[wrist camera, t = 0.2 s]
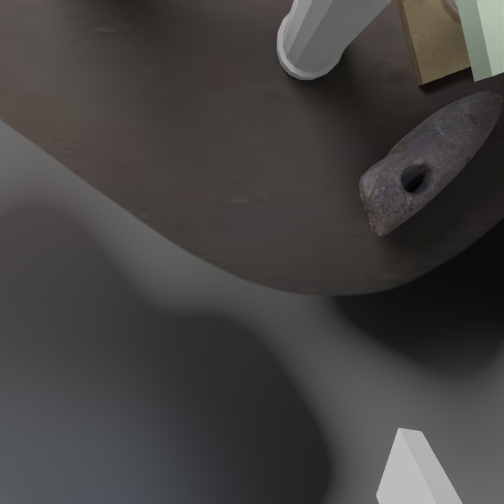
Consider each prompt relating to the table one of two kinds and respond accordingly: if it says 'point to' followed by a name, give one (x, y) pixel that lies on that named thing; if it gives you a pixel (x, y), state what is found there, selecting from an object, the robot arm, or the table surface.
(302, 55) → the pipe
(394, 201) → the perforated stone tool
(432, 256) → the table surface
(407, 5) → the post stand
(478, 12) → the pale mint square tile
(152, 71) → the table surface
